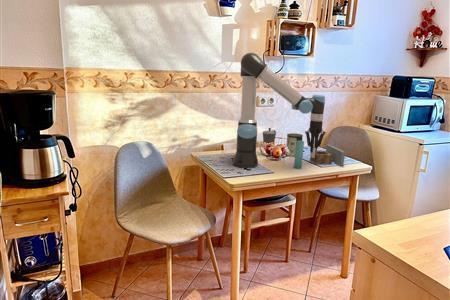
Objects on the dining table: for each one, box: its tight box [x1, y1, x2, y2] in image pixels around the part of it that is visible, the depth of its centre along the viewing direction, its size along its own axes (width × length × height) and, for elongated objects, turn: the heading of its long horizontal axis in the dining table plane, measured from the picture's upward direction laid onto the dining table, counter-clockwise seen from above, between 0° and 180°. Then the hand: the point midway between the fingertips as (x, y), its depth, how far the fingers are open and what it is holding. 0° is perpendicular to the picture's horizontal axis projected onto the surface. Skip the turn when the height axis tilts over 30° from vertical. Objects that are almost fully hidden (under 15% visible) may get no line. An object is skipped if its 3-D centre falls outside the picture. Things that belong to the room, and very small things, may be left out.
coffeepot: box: [262, 127, 277, 143], centre depth 224 cm, size 15×9×18 cm, turn 144°
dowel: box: [293, 140, 305, 170], centre depth 195 cm, size 4×4×16 cm
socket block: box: [309, 150, 333, 165], centre depth 211 cm, size 10×10×6 cm
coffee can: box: [286, 133, 304, 158], centre depth 224 cm, size 10×10×14 cm
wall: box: [325, 144, 346, 167], centre depth 212 cm, size 2×20×9 cm, turn 10°
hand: (312, 157), depth 209 cm, fingers closed
